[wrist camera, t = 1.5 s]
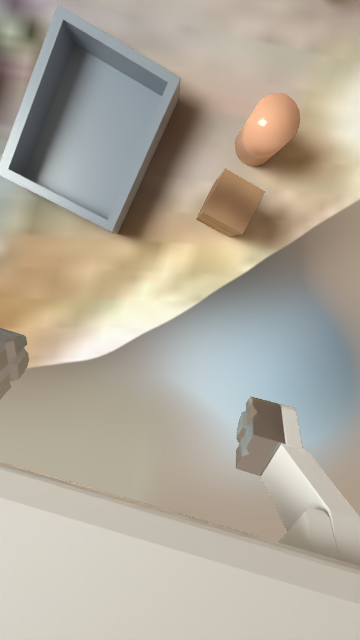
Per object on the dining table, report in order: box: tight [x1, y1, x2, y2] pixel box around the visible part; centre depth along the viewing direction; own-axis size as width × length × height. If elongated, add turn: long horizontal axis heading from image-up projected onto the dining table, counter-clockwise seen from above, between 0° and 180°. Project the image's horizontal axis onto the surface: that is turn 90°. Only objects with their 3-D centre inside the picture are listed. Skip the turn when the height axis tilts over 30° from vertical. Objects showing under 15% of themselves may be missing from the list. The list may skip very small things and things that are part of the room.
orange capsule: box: [235, 93, 300, 166], centre depth 36 cm, size 5×5×8 cm
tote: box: [0, 4, 180, 234], centre depth 37 cm, size 18×14×5 cm
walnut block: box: [197, 169, 265, 237], centre depth 38 cm, size 5×5×8 cm
